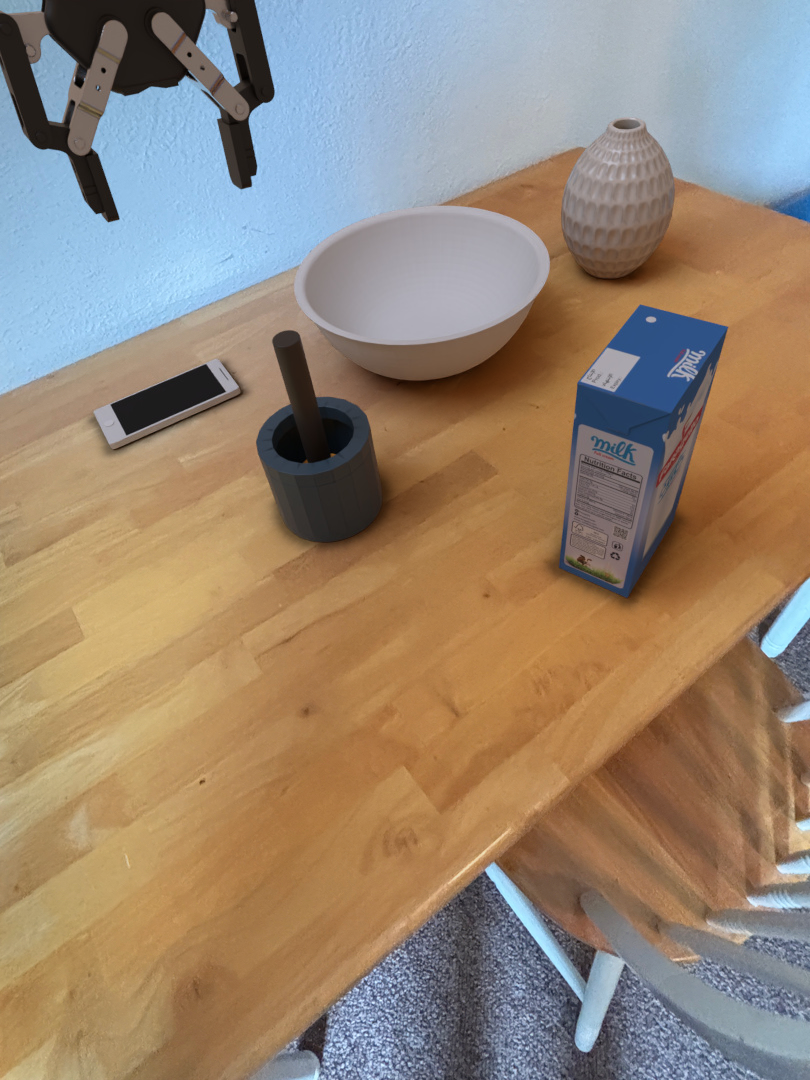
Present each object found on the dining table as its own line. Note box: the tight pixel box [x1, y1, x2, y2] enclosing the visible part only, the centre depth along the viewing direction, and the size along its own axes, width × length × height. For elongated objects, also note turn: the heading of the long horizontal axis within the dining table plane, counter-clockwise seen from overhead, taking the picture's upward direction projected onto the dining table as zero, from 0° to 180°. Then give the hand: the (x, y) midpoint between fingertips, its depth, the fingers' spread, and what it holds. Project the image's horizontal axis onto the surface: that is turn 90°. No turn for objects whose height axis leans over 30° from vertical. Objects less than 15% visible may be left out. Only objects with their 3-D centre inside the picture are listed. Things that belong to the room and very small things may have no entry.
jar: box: [255, 396, 384, 543], centre depth 65 cm, size 10×10×9 cm
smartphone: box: [93, 358, 241, 450], centre depth 81 cm, size 7×16×1 cm, turn 121°
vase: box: [560, 116, 676, 280], centre depth 83 cm, size 13×13×17 cm
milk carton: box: [558, 304, 729, 599], centre depth 54 cm, size 10×6×20 cm, turn 145°
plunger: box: [271, 329, 336, 463], centre depth 61 cm, size 5×5×18 cm
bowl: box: [293, 205, 551, 381], centre depth 79 cm, size 27×27×10 cm
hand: (179, 201), depth 44 cm, fingers open, 8 cm apart
